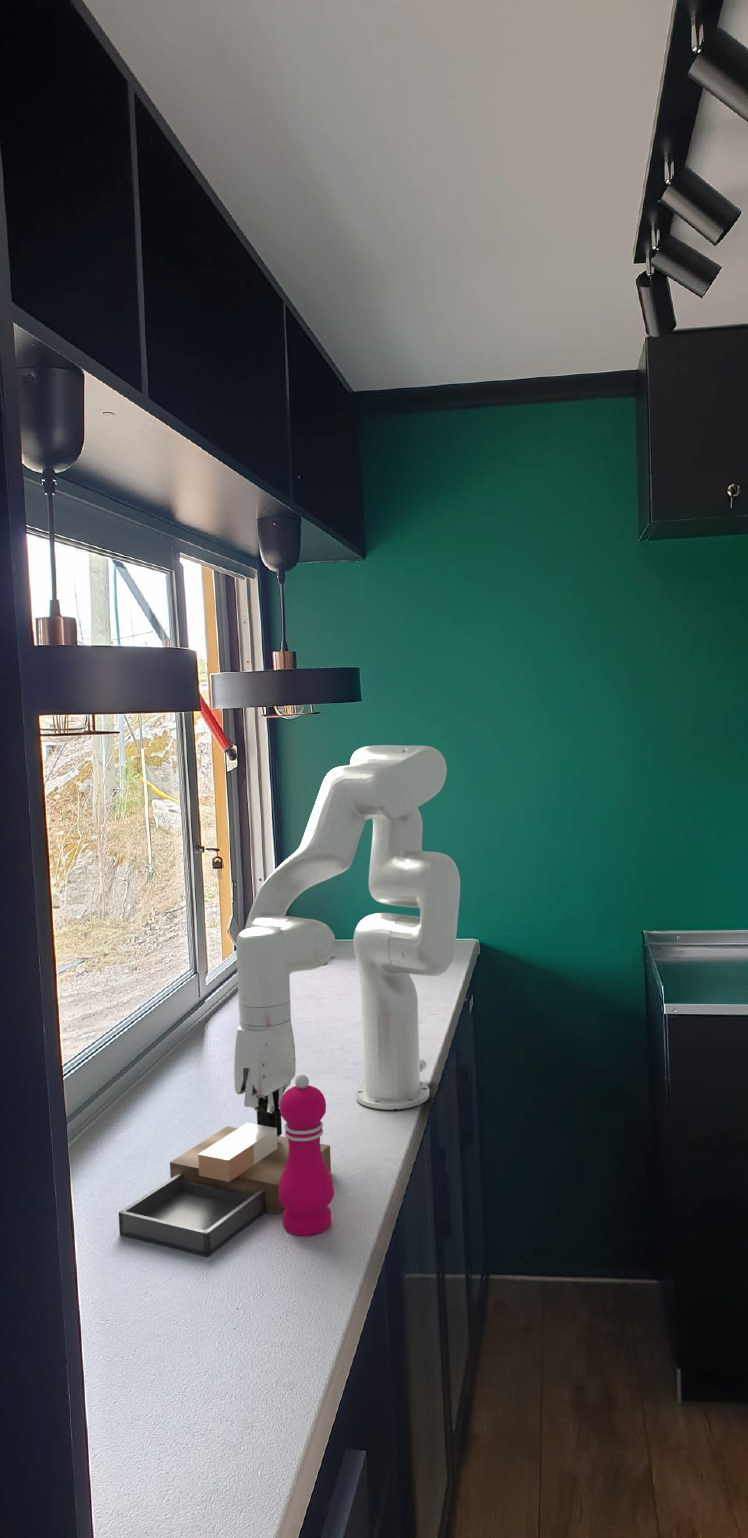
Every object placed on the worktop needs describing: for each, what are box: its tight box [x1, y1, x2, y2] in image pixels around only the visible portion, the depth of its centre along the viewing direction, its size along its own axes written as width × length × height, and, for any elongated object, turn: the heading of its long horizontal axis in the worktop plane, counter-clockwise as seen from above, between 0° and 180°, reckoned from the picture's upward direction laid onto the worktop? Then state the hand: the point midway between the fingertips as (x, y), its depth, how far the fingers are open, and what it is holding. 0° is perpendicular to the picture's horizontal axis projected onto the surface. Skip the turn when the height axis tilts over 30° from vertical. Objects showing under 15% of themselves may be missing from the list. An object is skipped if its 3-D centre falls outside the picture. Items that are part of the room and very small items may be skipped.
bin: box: [118, 1172, 266, 1258], centre depth 147 cm, size 13×14×3 cm
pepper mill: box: [279, 1074, 335, 1237], centre depth 145 cm, size 7×7×20 cm
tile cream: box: [225, 1122, 277, 1164], centre depth 159 cm, size 6×5×3 cm
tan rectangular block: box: [198, 1138, 254, 1182], centre depth 154 cm, size 6×5×3 cm
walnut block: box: [169, 1126, 332, 1215], centre depth 159 cm, size 14×18×4 cm
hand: (269, 1135), depth 163 cm, fingers closed
